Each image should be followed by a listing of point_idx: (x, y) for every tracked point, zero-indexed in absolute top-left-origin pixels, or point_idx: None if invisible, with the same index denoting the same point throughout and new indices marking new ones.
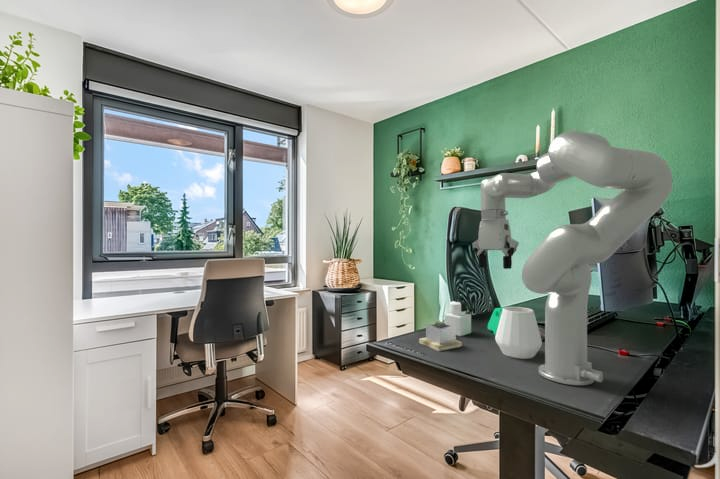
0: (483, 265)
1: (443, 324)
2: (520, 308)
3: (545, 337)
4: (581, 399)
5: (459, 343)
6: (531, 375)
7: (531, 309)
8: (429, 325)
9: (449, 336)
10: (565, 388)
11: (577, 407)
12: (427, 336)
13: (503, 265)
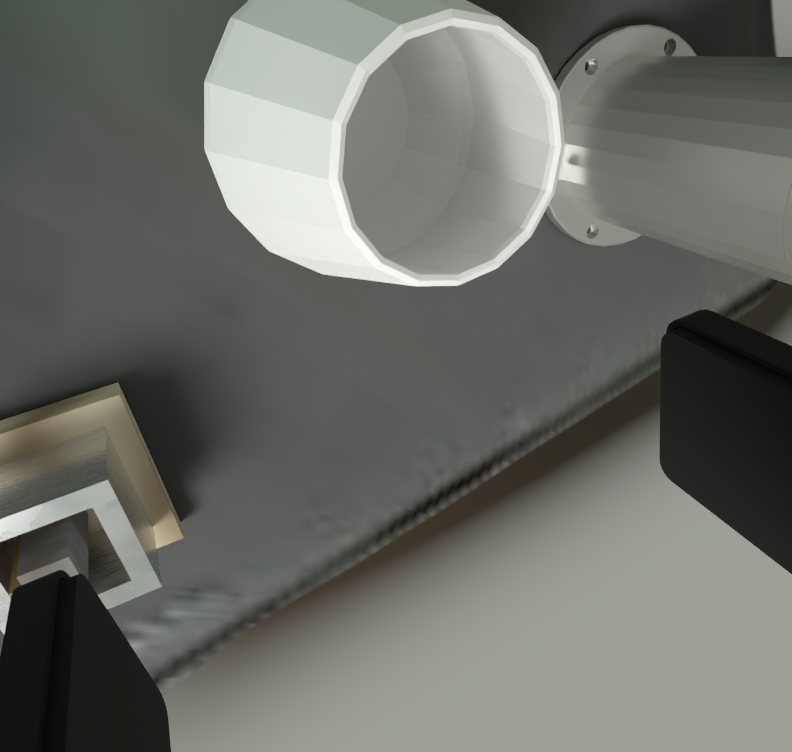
0: (129, 673)
1: (74, 558)
2: (387, 56)
3: (692, 247)
4: None
5: (126, 407)
6: (555, 270)
7: (507, 33)
8: None
9: (127, 490)
10: None
11: (732, 298)
12: None
13: (701, 499)
